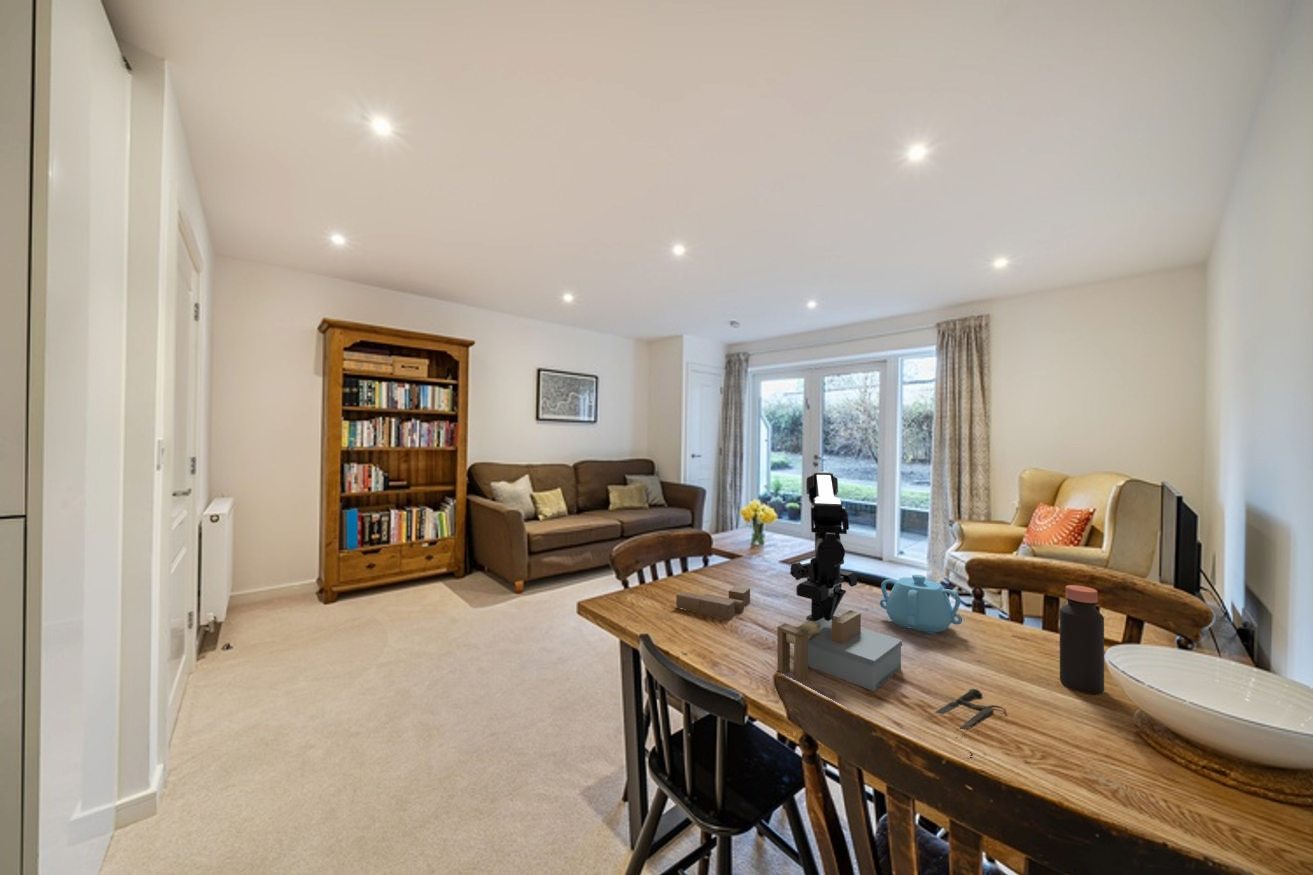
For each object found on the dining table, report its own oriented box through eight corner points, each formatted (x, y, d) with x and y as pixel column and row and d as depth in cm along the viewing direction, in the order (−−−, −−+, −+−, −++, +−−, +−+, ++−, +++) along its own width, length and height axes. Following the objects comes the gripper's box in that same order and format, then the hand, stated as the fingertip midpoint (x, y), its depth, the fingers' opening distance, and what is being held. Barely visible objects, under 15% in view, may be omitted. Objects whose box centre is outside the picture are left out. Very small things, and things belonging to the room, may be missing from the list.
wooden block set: (731, 602, 133) (675, 591, 142) (731, 622, 133) (675, 610, 142) (753, 585, 147) (701, 576, 157) (753, 604, 147) (701, 594, 157)
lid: (824, 626, 119) (824, 599, 119) (902, 650, 105) (902, 619, 105) (792, 642, 109) (792, 613, 109) (874, 671, 95) (874, 638, 95)
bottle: (1069, 675, 102) (1069, 581, 102) (1110, 690, 96) (1110, 590, 96) (1053, 682, 99) (1052, 586, 99) (1094, 698, 93) (1094, 595, 93)
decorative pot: (933, 615, 137) (933, 567, 137) (968, 638, 121) (968, 584, 121) (876, 614, 138) (876, 567, 138) (902, 637, 122) (902, 583, 122)
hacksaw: (972, 692, 96) (972, 685, 96) (1033, 718, 87) (1033, 710, 87) (902, 731, 83) (902, 722, 83) (965, 765, 75) (965, 756, 75)
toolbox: (824, 642, 118) (824, 603, 118) (900, 668, 105) (900, 624, 105) (776, 670, 104) (776, 626, 104) (858, 704, 91) (858, 653, 91)
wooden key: (810, 629, 110) (810, 620, 110) (819, 632, 109) (819, 623, 109) (786, 641, 103) (786, 632, 104) (796, 645, 102) (796, 635, 102)
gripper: (816, 543, 126) (816, 602, 126) (776, 554, 113) (776, 620, 113) (858, 550, 118) (858, 613, 117) (820, 563, 105) (820, 635, 105)
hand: (827, 620), depth 113 cm, fingers closed
